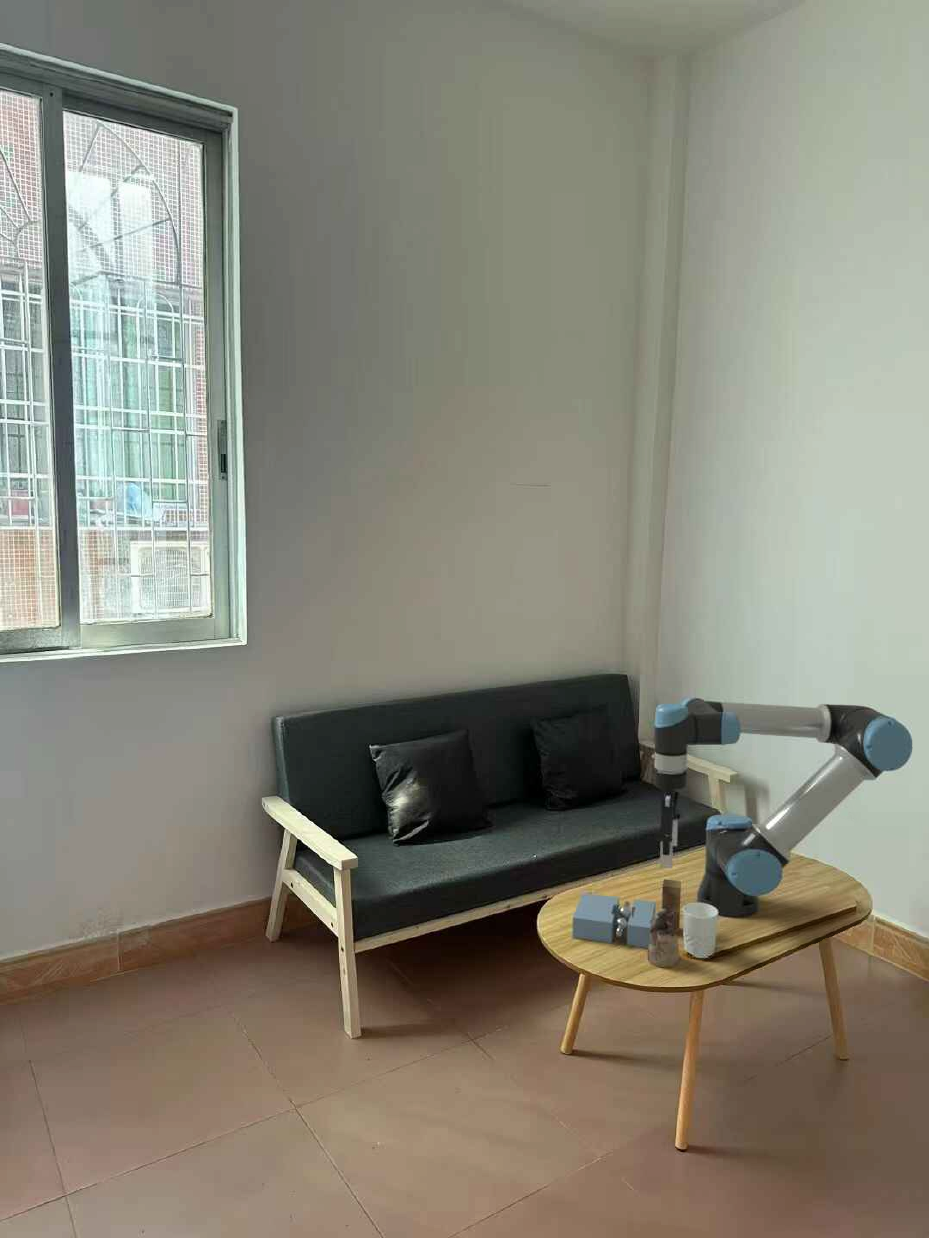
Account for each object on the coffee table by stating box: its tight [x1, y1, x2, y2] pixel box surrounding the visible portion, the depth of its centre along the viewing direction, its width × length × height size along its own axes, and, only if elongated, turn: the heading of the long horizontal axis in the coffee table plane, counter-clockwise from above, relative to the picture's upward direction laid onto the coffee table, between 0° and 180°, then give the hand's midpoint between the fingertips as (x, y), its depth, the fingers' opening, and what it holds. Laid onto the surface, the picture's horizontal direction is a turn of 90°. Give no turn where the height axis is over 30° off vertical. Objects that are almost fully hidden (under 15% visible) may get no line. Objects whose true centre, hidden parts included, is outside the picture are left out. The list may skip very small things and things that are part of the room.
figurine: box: [646, 908, 680, 968], centre depth 200 cm, size 7×7×12 cm
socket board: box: [572, 892, 656, 949], centre depth 215 cm, size 18×14×5 cm
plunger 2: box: [614, 917, 628, 938], centre depth 210 cm, size 3×6×3 cm, turn 163°
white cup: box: [682, 902, 719, 959], centre depth 204 cm, size 8×8×10 cm
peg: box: [661, 878, 682, 936], centre depth 213 cm, size 4×4×12 cm
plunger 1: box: [618, 901, 632, 920], centre depth 219 cm, size 3×6×3 cm, turn 163°
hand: (668, 855), depth 212 cm, fingers open, 13 cm apart
